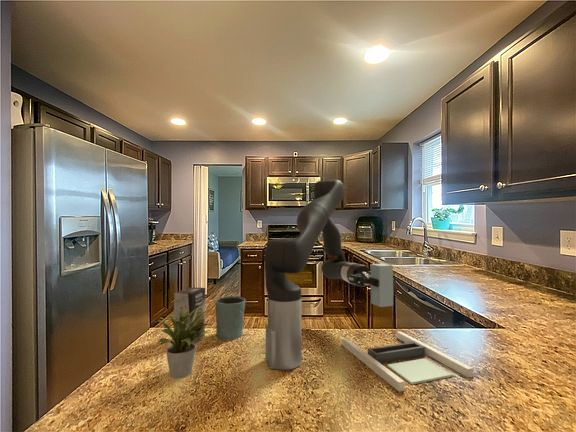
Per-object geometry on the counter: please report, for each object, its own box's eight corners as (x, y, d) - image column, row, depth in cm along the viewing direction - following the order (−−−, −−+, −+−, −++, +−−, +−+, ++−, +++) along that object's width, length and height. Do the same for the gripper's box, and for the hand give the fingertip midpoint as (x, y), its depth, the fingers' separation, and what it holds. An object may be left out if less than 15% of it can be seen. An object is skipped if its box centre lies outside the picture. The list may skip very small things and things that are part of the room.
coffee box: (191, 346, 88) (191, 293, 88) (172, 344, 89) (173, 292, 89) (205, 335, 96) (206, 287, 97) (188, 334, 98) (188, 286, 98)
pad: (411, 384, 66) (411, 382, 66) (387, 366, 75) (387, 364, 75) (452, 376, 70) (452, 374, 70) (424, 360, 78) (424, 358, 78)
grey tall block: (380, 307, 84) (379, 266, 84) (371, 303, 88) (370, 264, 89) (393, 305, 85) (392, 265, 86) (383, 301, 90) (383, 263, 90)
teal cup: (219, 329, 102) (219, 295, 102) (247, 330, 101) (247, 296, 102) (210, 341, 92) (211, 303, 92) (242, 341, 91) (242, 303, 92)
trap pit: (376, 364, 76) (376, 354, 76) (367, 357, 80) (367, 348, 80) (424, 356, 81) (424, 347, 81) (414, 350, 85) (414, 341, 85)
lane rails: (399, 391, 63) (398, 382, 63) (342, 345, 88) (342, 338, 88) (472, 376, 70) (472, 368, 70) (400, 337, 94) (400, 331, 94)
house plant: (170, 399, 60) (171, 321, 61) (133, 381, 68) (135, 311, 68) (219, 370, 72) (220, 305, 73) (184, 357, 80) (184, 298, 80)
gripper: (337, 264, 100) (364, 271, 83) (372, 262, 104) (405, 269, 88) (337, 285, 99) (364, 297, 83) (372, 283, 104) (405, 293, 87)
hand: (385, 282), depth 85 cm, fingers closed on grey tall block, 4 cm apart
